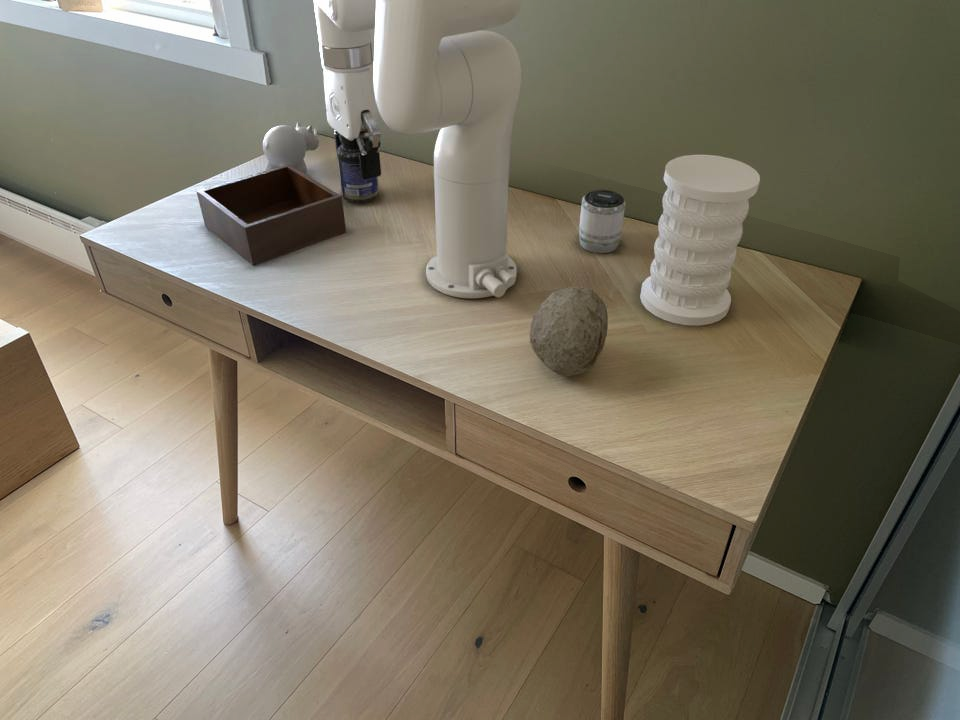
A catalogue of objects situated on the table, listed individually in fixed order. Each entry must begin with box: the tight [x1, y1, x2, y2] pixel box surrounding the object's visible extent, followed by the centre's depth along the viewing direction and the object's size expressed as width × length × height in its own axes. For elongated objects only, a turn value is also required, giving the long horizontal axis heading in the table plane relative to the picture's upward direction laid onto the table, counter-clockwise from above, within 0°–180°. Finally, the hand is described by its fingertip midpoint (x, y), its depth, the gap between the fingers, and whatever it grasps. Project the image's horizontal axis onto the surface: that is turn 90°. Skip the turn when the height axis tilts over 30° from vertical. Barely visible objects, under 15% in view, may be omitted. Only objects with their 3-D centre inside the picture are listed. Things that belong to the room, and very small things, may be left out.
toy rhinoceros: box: [262, 121, 320, 174], centre depth 126 cm, size 7×12×8 cm, turn 148°
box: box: [195, 164, 347, 266], centre depth 108 cm, size 16×16×6 cm
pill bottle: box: [336, 131, 380, 205], centre depth 116 cm, size 6×6×11 cm
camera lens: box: [578, 189, 627, 254], centre depth 105 cm, size 6×6×8 cm
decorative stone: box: [529, 285, 609, 377], centre depth 81 cm, size 10×8×10 cm
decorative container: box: [639, 154, 761, 327], centre depth 90 cm, size 12×12×18 cm
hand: (358, 166), depth 116 cm, fingers open, 9 cm apart
